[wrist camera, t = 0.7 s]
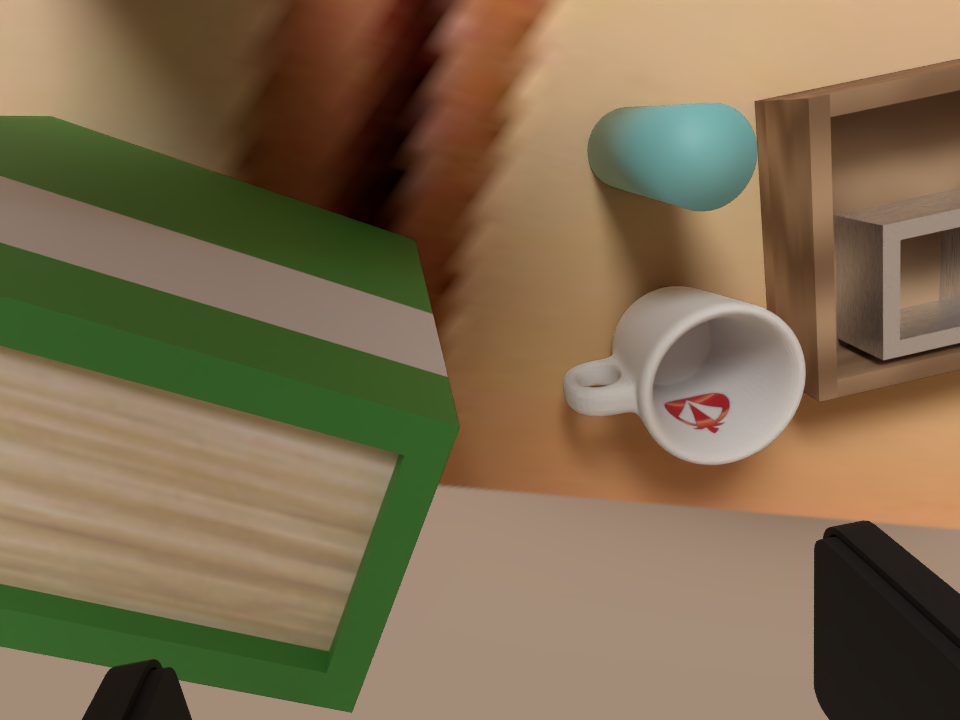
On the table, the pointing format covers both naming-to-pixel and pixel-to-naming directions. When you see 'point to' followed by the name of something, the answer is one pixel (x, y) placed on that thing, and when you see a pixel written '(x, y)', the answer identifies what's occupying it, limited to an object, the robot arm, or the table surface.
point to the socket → (896, 276)
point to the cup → (697, 374)
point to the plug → (675, 153)
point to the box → (854, 207)
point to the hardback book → (206, 419)
